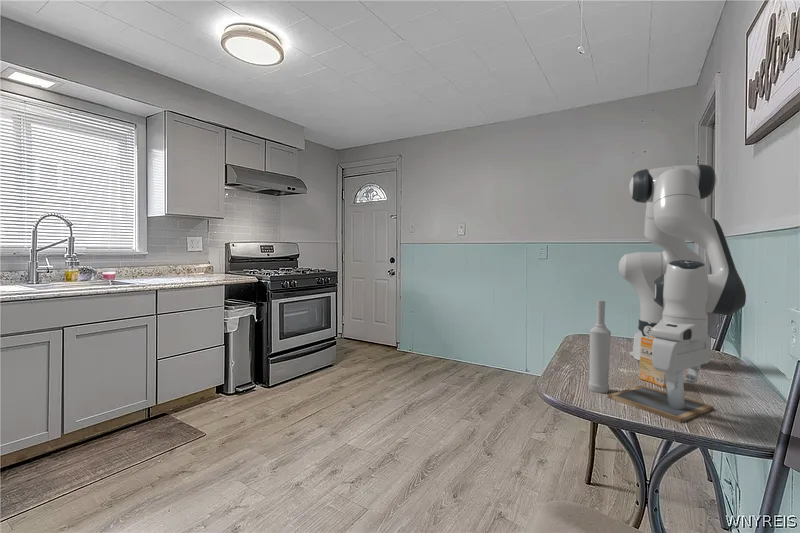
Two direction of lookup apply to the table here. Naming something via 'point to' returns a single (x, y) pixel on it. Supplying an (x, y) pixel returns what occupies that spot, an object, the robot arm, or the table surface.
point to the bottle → (599, 352)
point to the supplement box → (649, 363)
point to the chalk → (677, 393)
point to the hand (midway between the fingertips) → (681, 385)
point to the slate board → (659, 403)
